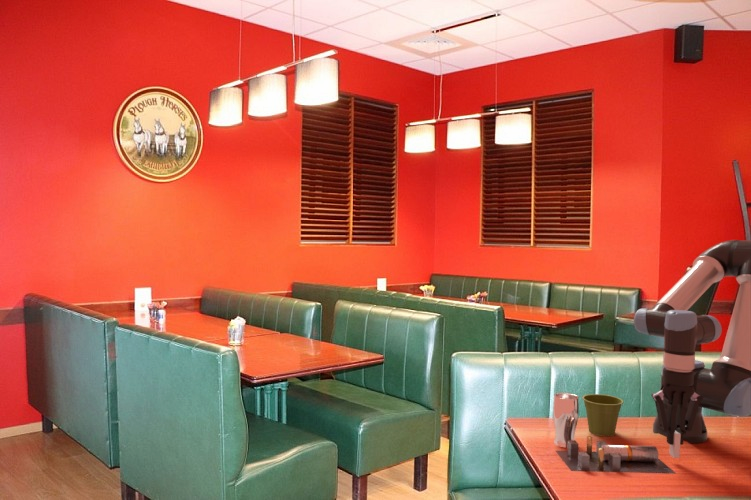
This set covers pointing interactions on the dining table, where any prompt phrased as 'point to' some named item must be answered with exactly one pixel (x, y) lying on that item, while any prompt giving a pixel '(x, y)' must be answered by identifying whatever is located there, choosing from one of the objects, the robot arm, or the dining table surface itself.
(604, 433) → the plant pot
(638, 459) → the tube
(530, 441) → the dining table surface
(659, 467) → the steam engine
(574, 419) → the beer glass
